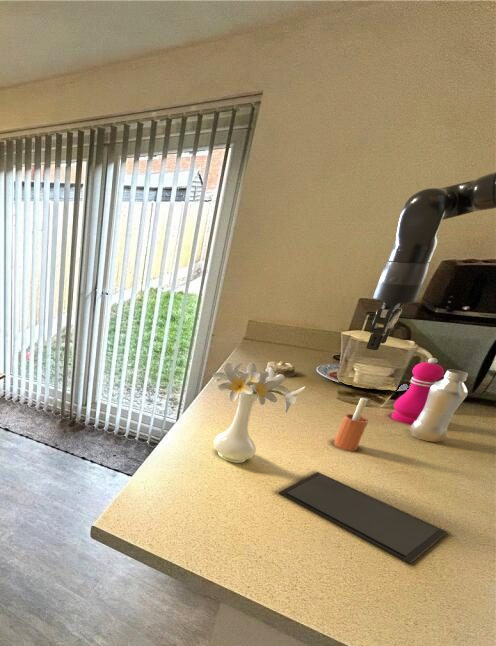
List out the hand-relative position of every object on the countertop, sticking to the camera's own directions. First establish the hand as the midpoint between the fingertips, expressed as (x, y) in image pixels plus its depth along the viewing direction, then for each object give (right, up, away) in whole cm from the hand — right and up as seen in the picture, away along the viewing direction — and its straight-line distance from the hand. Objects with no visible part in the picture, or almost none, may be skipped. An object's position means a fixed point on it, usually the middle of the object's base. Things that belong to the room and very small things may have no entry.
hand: (375, 345), depth 100 cm
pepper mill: (+27, -21, +18) cm, 39 cm away
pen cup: (-3, -27, +6) cm, 28 cm away
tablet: (-22, -37, -17) cm, 46 cm away
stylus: (-3, -26, +5) cm, 27 cm away
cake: (+16, -6, +54) cm, 57 cm away
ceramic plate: (+39, -9, +45) cm, 60 cm away
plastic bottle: (+22, -25, +9) cm, 35 cm away
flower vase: (-35, -29, +3) cm, 45 cm away
